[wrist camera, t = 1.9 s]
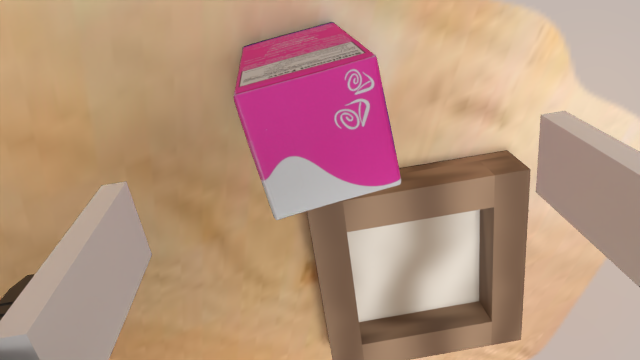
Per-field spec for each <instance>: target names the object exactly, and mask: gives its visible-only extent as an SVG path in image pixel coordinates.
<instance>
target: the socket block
mask: <svg viewBox="0 0 640 360" xmlns="http://www.w3.org/2000/svg"><path fill="white" fill-rule="evenodd" d="M399 171H400V177H401V184H400V185H397V186H394V187H390V188H387V189H383V190H379V191H376V192H372V193H368V194H365V195H361V196H357V197H354V198H350V199H346V200H343V201H339V202H336V203H332V204H329V205H325V206H322V207H318V208H315V209H312V210H308V211H307V214H308V220H309V226H310V232H311V237H312V243H313V249H314V255H315V261H316V266H317V272H318V278H319V284H320V290H321V295H322V301H323V307H324V313H325V318H326V324H327V330H328V336H329V342H330V347H331V353H332V359H333V360H410V359H416V358H422V357H427V356H433V355H438V354H444V353H450V352H455V351H461V350H466V349H472V348H478V347H483V346H489V345H494V344H500V343H506V342H511V341H517V340H521V330H522V312H523V294H524V276H525V258H526V240H527V222H528V204H529V186H530V169H529V168H528V167H527V166H526V165H524V164H523V163H522V162H521V161H520V160H518V159H517V158H516V157H515V156H513V155H512V154H511V153H510V152H508V151H501V152H495V153H489V154H483V155H477V156H471V157H465V158H459V159H454V160H448V161H442V162H436V163H430V164H424V165H418V166H412V167H406V168H400V169H399Z"/></svg>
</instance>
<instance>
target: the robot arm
mask: <svg viewBox="0 0 640 360" xmlns="http://www.w3.org/2000/svg"><path fill="white" fill-rule="evenodd" d="M536 193H538V194H539V195H540V196H541V197H542V198H543V199H544V200H545V201H546V202H547V203H548V204H550V205H551V206H552V207H553V208H554V209H555V210H556V211H557V212H558V213H559V214H560V215H561V216H563V217H564V218H565V219H566V220H567V221H568V222H569V223H570V224H571V225H572V226H573V227H575V228H576V229H577V230H578V231H579V232H580V233H581V234H582V235H583V236H584V237H585V238H587V239H588V240H589V241H590V242H591V243H592V244H593V245H594V246H595V247H596V248H597V249H599V250H600V251H601V252H602V253H603V254H604V255H605V256H606V257H607V258H608V259H609V260H611V261H612V262H613V263H614V264H615V265H616V266H617V267H618V268H619V269H620V270H621V271H622V272H624V273H625V274H626V275H627V276H628V277H629V278H630V279H631V280H632V281H634V282H635V283H636V284H637V285H638V286H639V287H640V152H639V151H637V150H635V149H633V148H632V147H630V146H628V145H626V144H624V143H622V142H621V141H619V140H617V139H615V138H613V137H611V136H610V135H608V134H606V133H604V132H602V131H600V130H599V129H597V128H595V127H593V126H591V125H589V124H588V123H586V122H584V121H582V120H580V119H578V118H577V117H575V116H573V115H571V114H569V113H567V112H566V111H562V112H555V113H549V114H543V115H541V121H540V136H539V152H538V167H537V183H536ZM151 256H152V253H151V250H150V248H149V245H148V242H147V239H146V236H145V233H144V230H143V228H142V225H141V222H140V219H139V216H138V213H137V210H136V208H135V205H134V202H133V199H132V196H131V193H130V190H129V188H128V185H127V182H120V183H114V184H107V185H102V186H101V187H100V188H99V190H98V191H97V192H96V194H95V195H94V196H93V198H92V199H91V200H90V202H89V203H88V204H87V206H86V207H85V208H84V210H83V211H82V212H81V214H80V215H79V216H78V218H77V219H76V220H75V222H74V223H73V224H72V226H71V227H70V228H69V230H68V231H67V232H66V234H65V235H64V236H63V238H62V239H61V240H60V242H59V243H58V244H57V246H56V247H55V248H54V250H53V251H52V252H51V254H50V255H49V256H48V258H47V259H46V260H45V262H44V263H43V264H42V266H41V267H40V268H39V270H38V271H37V272H36V274H33V275H27V276H26V277H25V278H23V279H22V280H21V281H20V282H18V283H17V284H16V285H14V286H13V287H12V288H10V289H9V290H8V292H7V293H6V294H5V295H4V297H3V298H2V299H1V300H0V360H109V358H110V355H111V353H112V350H113V348H114V346H115V343H116V341H117V338H118V336H119V334H120V331H121V329H122V326H123V324H124V321H125V319H126V317H127V314H128V312H129V309H130V307H131V304H132V302H133V300H134V297H135V295H136V292H137V290H138V287H139V285H140V283H141V280H142V278H143V275H144V273H145V270H146V268H147V266H148V263H149V261H150V258H151Z"/></svg>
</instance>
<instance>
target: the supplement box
mask: <svg viewBox="0 0 640 360" xmlns="http://www.w3.org/2000/svg"><path fill="white" fill-rule="evenodd" d="M234 101H235V105H236V108H237V111H238V114H239V117H240V121H241V124H242V127H243V130H244V133H245V136H246V139H247V142H248V145H249V148H250V150H251V153H252V156H253V159H254V162H255V165H256V167H257V170H258V173H259V176H260V179H261V181H262V185H263V187H264V190H265V193H266V196H267V199H268V202H269V205H270V207H271V210H272V213H273V216H274V218H275V219H276V220H279V219H282V218H285V217H289V216H292V215H295V214H298V213H302V212H305V211H308V210H312V209H315V208H318V207H322V206H325V205H329V204H332V203H336V202H339V201H343V200H346V199H350V198H354V197H357V196H361V195H365V194H368V193H372V192H376V191H379V190H383V189H387V188H390V187H394V186H397V185H400V184H401V177H400V171H399V166H398V161H397V156H396V151H395V146H394V141H393V136H392V131H391V126H390V121H389V116H388V112H387V107H386V102H385V97H384V92H383V87H382V82H381V77H380V72H379V67H378V62H377V58H376V56H375V55H374V54H373V53H372V52H370V51H369V50H368V49H366V48H365V47H364V46H363V45H361V44H360V43H359V42H358V41H356V40H355V39H353V38H352V37H351V36H350V35H348V34H347V33H346V32H345V31H343V30H342V29H341V28H340V27H338V26H337V25H336V24H335V23H333V22H331V23H327V24H324V25H320V26H316V27H313V28H309V29H305V30H302V31H298V32H294V33H290V34H287V35H283V36H279V37H276V38H272V39H269V40H265V41H261V42H258V43H254V44H251V45H248V46H245V47H243V51H242V57H241V62H240V66H239V72H238V77H237V82H236V87H235V91H234Z"/></svg>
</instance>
